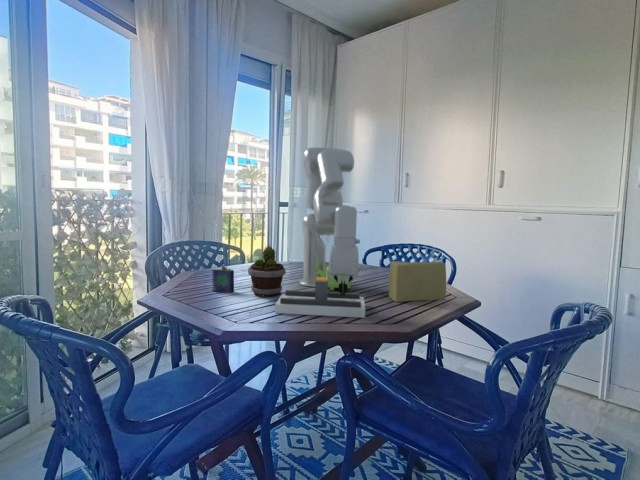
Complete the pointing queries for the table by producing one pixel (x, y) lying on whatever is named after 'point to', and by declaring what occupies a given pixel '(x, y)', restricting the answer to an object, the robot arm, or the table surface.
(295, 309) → the breaker panel
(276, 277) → the flowerpot
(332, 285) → the kettle
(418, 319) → the table surface
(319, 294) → the block
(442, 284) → the cheese
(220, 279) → the flask
